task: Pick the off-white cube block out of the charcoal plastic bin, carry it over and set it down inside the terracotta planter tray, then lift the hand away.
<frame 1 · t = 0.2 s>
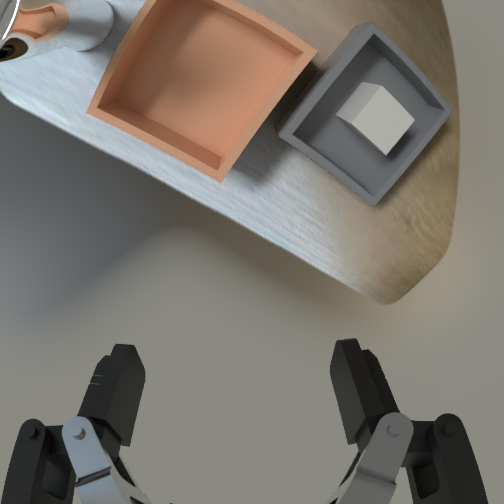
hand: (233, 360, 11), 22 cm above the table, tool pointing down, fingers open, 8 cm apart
off-white cube block: (365, 112, 24), point 1 cm above the table, touching charcoal bin
silver metal tumbler: (89, 25, 18), on the table
terracotta tray: (201, 72, 23), on the table
charcoal bin: (361, 110, 25), on the table
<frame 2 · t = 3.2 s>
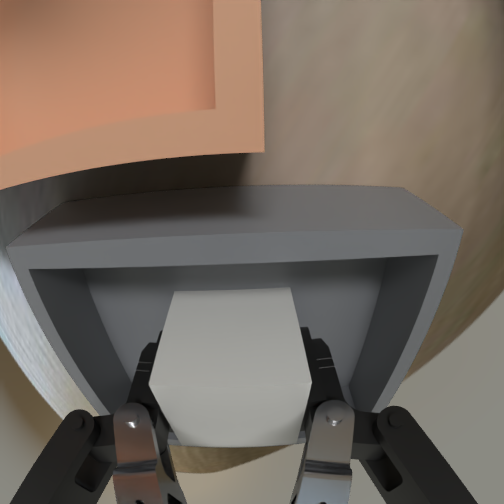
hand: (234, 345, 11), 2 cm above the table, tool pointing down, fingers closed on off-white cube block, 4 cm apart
off-white cube block: (235, 331, 12), point 1 cm above the table, touching charcoal bin, gripper
charcoal bin: (235, 316, 13), on the table
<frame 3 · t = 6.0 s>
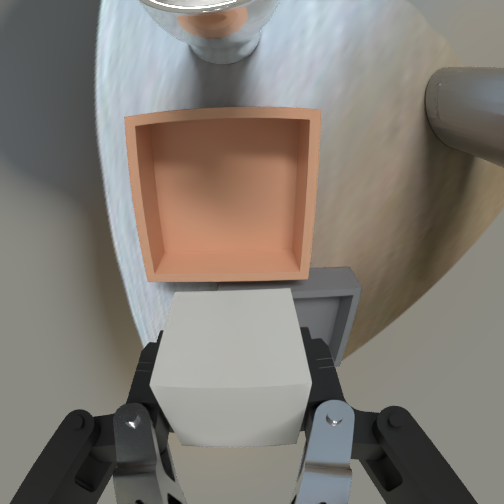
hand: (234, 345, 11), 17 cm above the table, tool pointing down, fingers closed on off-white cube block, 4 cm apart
off-white cube block: (235, 332, 12), point 16 cm above the table, touching gripper
silver metal tumbler: (224, 34, 19), on the table
terracotta tray: (225, 184, 25), on the table
charcoal bin: (283, 312, 33), on the table
when the fingers open (4 cm above the table, at t = 8.7 s): off-white cube block drops 2 cm, resting on terracotta tray.
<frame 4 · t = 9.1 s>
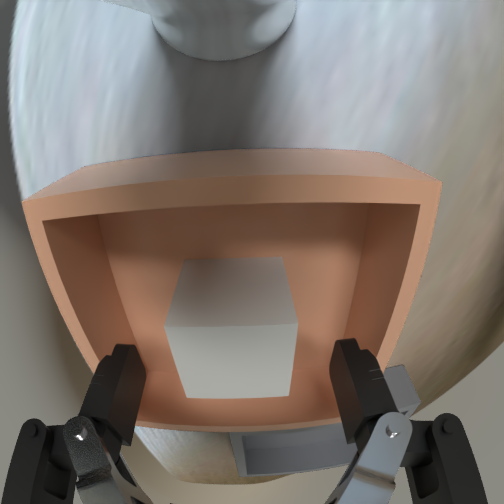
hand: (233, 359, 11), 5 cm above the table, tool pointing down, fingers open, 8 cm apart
off-white cube block: (235, 297, 14), point 1 cm above the table, touching terracotta tray
silver metal tumbler: (223, 3, 9), on the table
terracotta tray: (235, 285, 15), on the table
charcoal bin: (312, 415, 22), on the table
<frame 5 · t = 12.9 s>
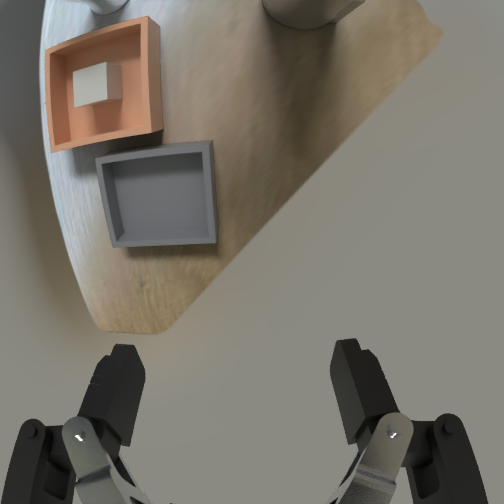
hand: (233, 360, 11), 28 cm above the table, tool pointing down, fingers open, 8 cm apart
off-white cube block: (106, 85, 27), point 1 cm above the table, touching terracotta tray
terracotta tray: (109, 86, 28), on the table
charcoal bin: (162, 190, 36), on the table
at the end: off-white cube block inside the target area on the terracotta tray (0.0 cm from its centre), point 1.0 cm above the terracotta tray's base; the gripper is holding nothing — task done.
